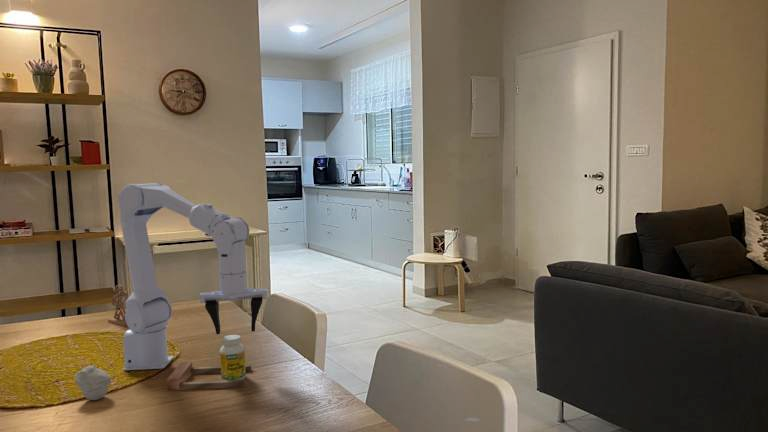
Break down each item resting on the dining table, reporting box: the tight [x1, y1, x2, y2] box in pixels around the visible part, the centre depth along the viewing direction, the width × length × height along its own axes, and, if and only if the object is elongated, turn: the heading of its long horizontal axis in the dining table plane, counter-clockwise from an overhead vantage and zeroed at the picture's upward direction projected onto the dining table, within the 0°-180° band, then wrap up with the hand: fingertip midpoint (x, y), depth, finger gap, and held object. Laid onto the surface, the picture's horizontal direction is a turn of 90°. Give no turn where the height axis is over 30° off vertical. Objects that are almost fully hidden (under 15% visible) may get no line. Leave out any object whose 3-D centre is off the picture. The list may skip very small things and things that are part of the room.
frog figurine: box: [74, 365, 112, 401], centre depth 120 cm, size 6×7×7 cm
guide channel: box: [166, 361, 252, 391], centre depth 129 cm, size 16×10×2 cm, turn 93°
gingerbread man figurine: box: [107, 284, 129, 327], centre depth 178 cm, size 9×4×12 cm, turn 56°
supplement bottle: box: [219, 334, 247, 381], centre depth 129 cm, size 5×5×10 cm
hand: (235, 331), depth 130 cm, fingers open, 7 cm apart
